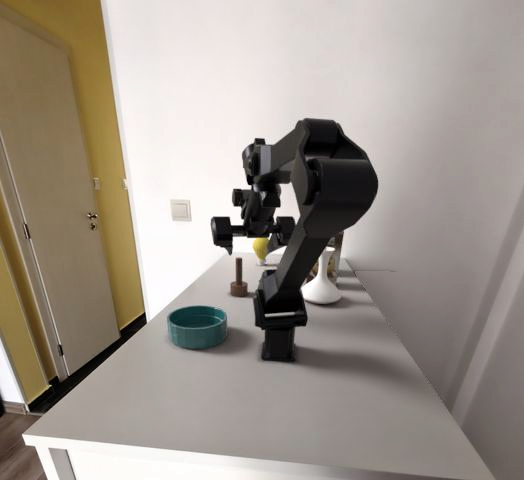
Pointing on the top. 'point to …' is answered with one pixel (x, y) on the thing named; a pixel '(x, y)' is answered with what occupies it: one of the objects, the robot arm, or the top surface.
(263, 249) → the light bulb
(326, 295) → the flower in vase
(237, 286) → the brown peg stamp
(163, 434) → the top surface
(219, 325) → the bowl
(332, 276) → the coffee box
